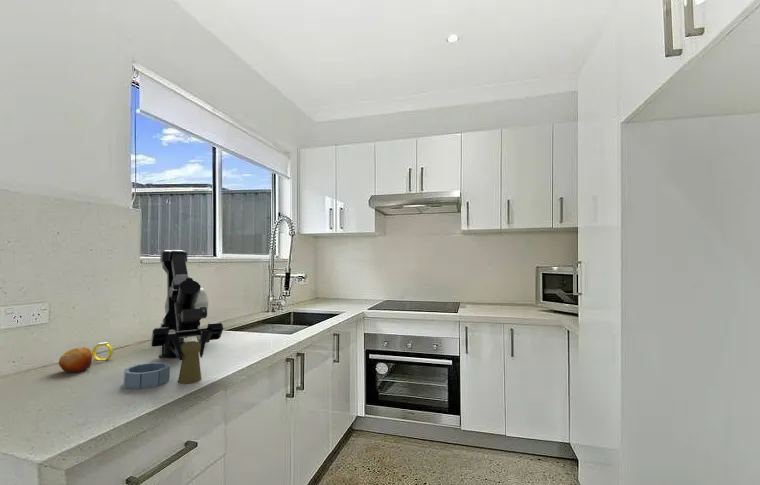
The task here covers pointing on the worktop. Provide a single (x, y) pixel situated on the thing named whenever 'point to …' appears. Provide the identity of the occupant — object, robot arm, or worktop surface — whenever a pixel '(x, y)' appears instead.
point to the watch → (102, 345)
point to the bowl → (146, 375)
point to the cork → (190, 363)
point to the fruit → (76, 360)
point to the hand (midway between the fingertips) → (191, 358)
